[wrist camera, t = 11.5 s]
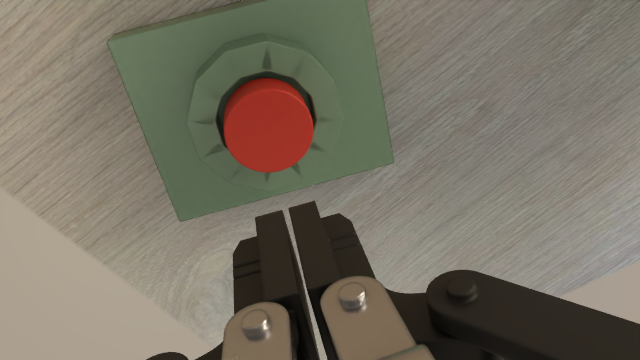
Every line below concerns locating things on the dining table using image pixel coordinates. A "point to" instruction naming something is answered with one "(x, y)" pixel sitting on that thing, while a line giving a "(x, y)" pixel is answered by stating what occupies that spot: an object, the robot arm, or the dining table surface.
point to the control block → (241, 67)
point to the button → (267, 125)
